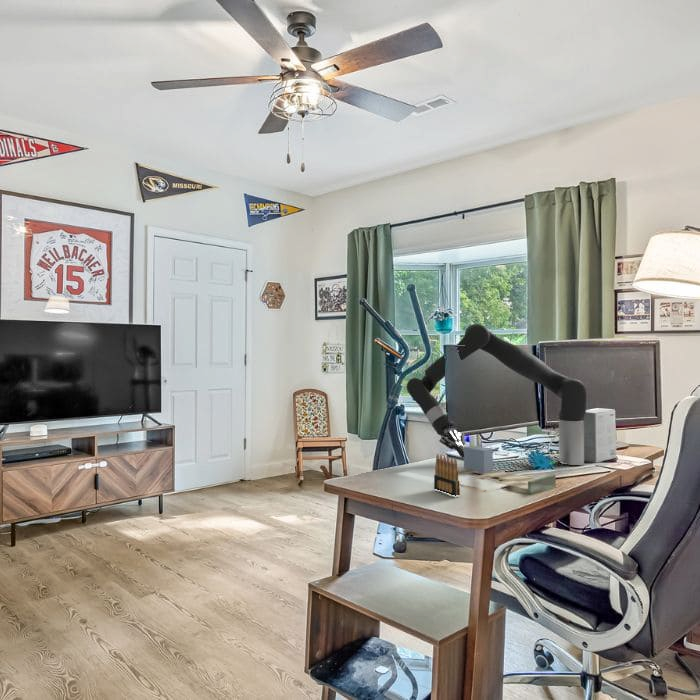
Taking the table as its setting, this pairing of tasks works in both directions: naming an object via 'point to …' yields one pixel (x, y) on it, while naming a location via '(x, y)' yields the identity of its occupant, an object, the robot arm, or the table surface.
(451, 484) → the ammunition clip
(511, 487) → the trap board
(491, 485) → the table surface
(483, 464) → the slate block
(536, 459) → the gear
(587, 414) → the hard drive box
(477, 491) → the table surface
